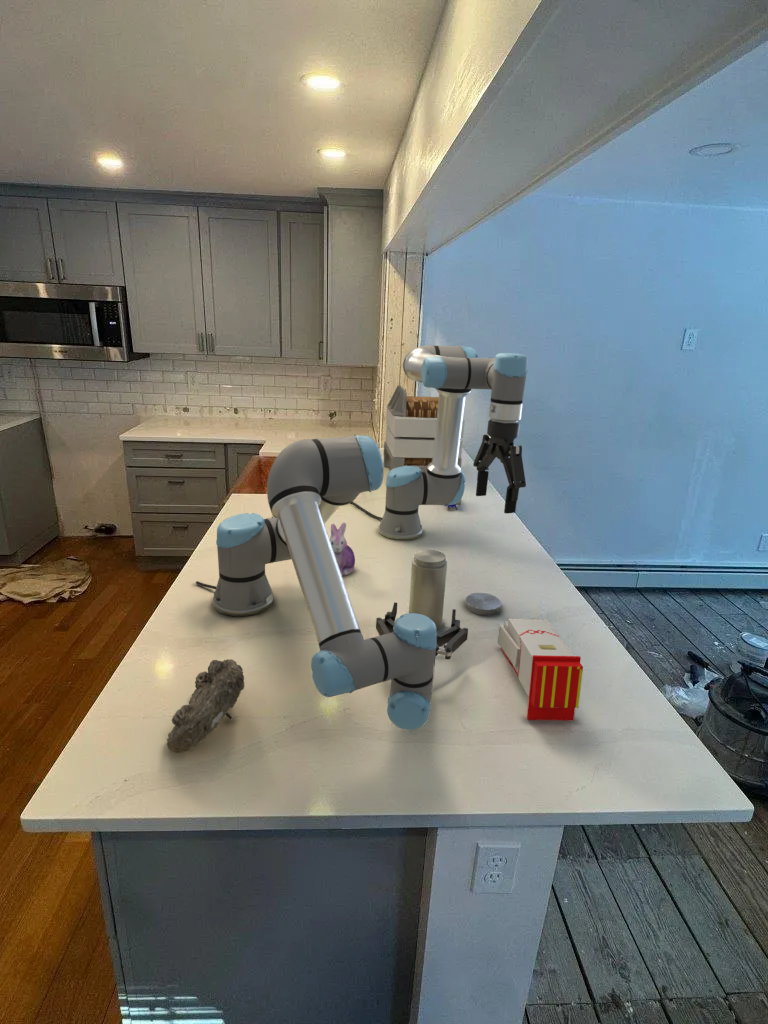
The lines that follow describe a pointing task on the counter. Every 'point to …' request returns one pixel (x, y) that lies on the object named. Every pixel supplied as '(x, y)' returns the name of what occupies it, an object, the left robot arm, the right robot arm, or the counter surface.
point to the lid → (483, 604)
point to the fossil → (206, 705)
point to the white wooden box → (411, 430)
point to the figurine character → (455, 505)
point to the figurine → (342, 550)
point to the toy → (542, 668)
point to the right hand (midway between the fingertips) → (494, 503)
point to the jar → (428, 585)
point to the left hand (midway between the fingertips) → (424, 610)
